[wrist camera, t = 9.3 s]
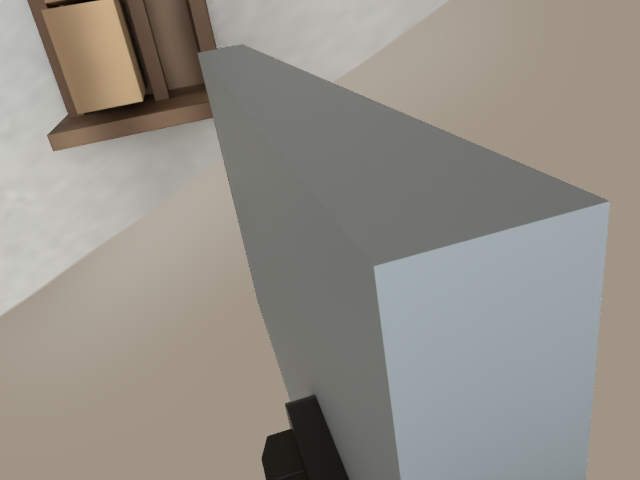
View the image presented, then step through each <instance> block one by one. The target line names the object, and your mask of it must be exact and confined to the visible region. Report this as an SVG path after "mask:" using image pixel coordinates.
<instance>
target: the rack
mask: <svg viewBox="0 0 640 480" xmlns="http://www.w3.org/2000/svg"><path fill="white" fill-rule="evenodd" d="M119 1H121V2H124V5H125V8H126V11H127V15H128V18H129V22H130V25H131V29H132V32H133V36H134V39H135V43H136V46H137V50H138V53H139V57H140V60H141V64H142V67H143V70H144V74H145V77H146V81H147V87H146V91H145V95H144V99H143V101H142V102H137V103H132V104H127V105H122V106H117V107H112V108H107V109H102V110H97V111H92V112H87V113H82V114H77V111H76V108H75V105H74V102H73V100H72V97H71V94H70V91H69V88H68V85H67V82H66V80H65V77H64V74H63V71H62V68H61V65H60V62H59V60H58V57H57V54H56V51H55V48H54V45H53V43H52V40H51V37H50V34H49V31H48V28H47V25H46V23H45V20H44V17H43V14H42V11H41V10H44V9H50V8H56V7H62V6H63V5H55V4H47V3H45V1H44V0H28V3H29V6H30V9H31V12H32V14H33V17H34V20H35V23H36V25H37V28H38V31H39V34H40V37H41V39H42V42H43V45H44V48H45V51H46V53H47V56H48V59H49V62H50V65H51V67H52V70H53V73H54V76H55V79H56V81H57V84H58V87H59V90H60V93H61V95H62V98H63V101H64V104H65V106H66V109H67V112H68V115H67V116H66V117H65V118H64V119H63V120H62V121H61V122H60V123H59V124H58V125H57V126H56V127H55V128H54V129H53V130H52V131H51V132H50V133H49V134H48V135H47V136H48V139H49V142H50V144H51V147H52V149H53V151H57V150H62V149H67V148H71V147H76V146H81V145H86V144H90V143H95V142H100V141H105V140H109V139H114V138H119V137H123V136H128V135H133V134H138V133H142V132H147V131H152V130H157V129H161V128H166V127H171V126H175V125H180V124H185V123H190V122H194V121H199V120H204V119H209V118H213V115H212V111H211V107H210V102H209V98H208V94H207V90H206V86H205V82H204V78H203V74H202V69H201V65H200V61H199V57H198V53H200V52H205V51H210V50H216V49H217V48H216V44H215V40H214V35H213V31H212V27H211V22H210V18H209V13H208V9H207V5H206V0H119Z"/></svg>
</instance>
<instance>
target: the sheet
mask: <svg viewBox="0 0 640 480" xmlns="http://www.w3.org/2000/svg"><path fill="white" fill-rule="evenodd" d="M198 57H199V61H200V65H201V69H202V74H203V78H204V82H205V86H206V90H207V94H208V98H209V102H210V107H211V111H212V115H213V119H214V123H215V127H216V131H217V135H218V140H219V144H220V148H221V152H222V156H223V160H224V164H225V168H226V172H227V176H228V181H229V185H230V189H231V193H232V197H233V201H234V205H235V210H236V214H237V218H238V222H239V226H240V230H241V234H242V238H243V242H244V247H245V251H246V255H247V259H248V263H249V267H250V271H251V275H252V280H253V283H254V288H255V292H256V296H257V300H258V304H259V307H260V310H261V313H262V316H263V319H264V322H265V325H266V328H267V331H268V334H269V337H270V340H271V343H272V346H273V349H274V352H275V355H276V358H277V362H278V365H279V368H280V371H281V374H282V377H283V380H284V383H285V386H286V389H287V392H288V395H289V398H290V401H291V402H292V401H295V400H298V399H301V398H304V397H307V396H311V395H314V394H315V396H316V398H317V400H318V403H319V405H320V408H321V410H322V413H323V415H324V418H325V420H326V423H327V425H328V428H329V430H330V433H331V435H332V438H333V440H334V443H335V445H336V448H337V450H338V453H339V455H340V458H341V460H342V463H343V465H344V468H345V470H346V473H347V475H348V478H349V480H586V469H587V456H588V446H589V435H590V423H591V412H592V400H593V389H594V378H595V366H596V355H597V344H598V332H599V321H600V310H601V297H602V286H603V276H604V264H605V252H606V241H607V230H608V219H609V206H610V201H608V200H606V199H604V198H601V197H599V196H596V195H594V194H592V193H590V192H587V191H585V190H583V189H580V188H578V187H575V186H573V185H571V184H568V183H566V182H564V181H561V180H559V179H556V178H554V177H552V176H550V175H547V174H545V173H543V172H540V171H538V170H536V169H533V168H531V167H529V166H526V165H524V164H521V163H519V162H517V161H514V160H512V159H510V158H507V157H505V156H503V155H500V154H498V153H495V152H493V151H491V150H489V149H486V148H484V147H481V146H479V145H477V144H474V143H472V142H470V141H467V140H465V139H463V138H460V137H458V136H455V135H453V134H451V133H449V132H446V131H444V130H441V129H439V128H437V127H434V126H432V125H430V124H428V123H425V122H423V121H420V120H418V119H416V118H413V117H411V116H409V115H406V114H404V113H401V112H399V111H397V110H394V109H392V108H390V107H387V106H385V105H383V104H381V103H378V102H376V101H373V100H371V99H369V98H366V97H364V96H362V95H359V94H357V93H354V92H352V91H350V90H348V89H345V88H343V87H341V86H338V85H336V84H333V83H331V82H329V81H327V80H324V79H322V78H319V77H317V76H315V75H312V74H310V73H308V72H305V71H303V70H301V69H298V68H296V67H294V66H291V65H289V64H287V63H284V62H282V61H280V60H277V59H275V58H273V57H270V56H268V55H265V54H263V53H261V52H258V51H256V50H254V49H251V48H249V47H247V46H244V45H237V46H231V47H226V48H221V49H216V50H210V51H205V52H200V53H198Z"/></svg>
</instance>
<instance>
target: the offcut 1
mask: <svg viewBox="0 0 640 480" xmlns="http://www.w3.org/2000/svg"><path fill="white" fill-rule="evenodd" d="M44 1H45V3H47V4H55V5H63V6H68V5H74V4H80V3H86V2H92V1H99V0H44Z"/></svg>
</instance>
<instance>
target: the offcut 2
mask: <svg viewBox="0 0 640 480" xmlns="http://www.w3.org/2000/svg"><path fill="white" fill-rule="evenodd" d="M41 11H42V14H43V17H44V20H45V23H46V25H47V28H48V31H49V34H50V37H51V40H52V43H53V45H54V48H55V51H56V54H57V57H58V60H59V62H60V65H61V68H62V71H63V74H64V77H65V80H66V82H67V85H68V88H69V91H70V94H71V97H72V100H73V102H74V105H75V108H76V111H77V114H82V113H87V112H92V111H97V110H102V109H107V108H112V107H117V106H122V105H127V104H132V103H137V102H142V101H143V99H144V95H145V91H146V87H147V81H146V77H145V74H144V70H143V67H142V64H141V60H140V57H139V53H138V50H137V46H136V43H135V39H134V36H133V32H132V29H131V25H130V22H129V18H128V15H127V11H126V8H125V5H124V2H121V1H119V0H99V1H92V2H86V3H80V4H74V5H68V6H62V7H56V8H50V9H44V10H41Z"/></svg>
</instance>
